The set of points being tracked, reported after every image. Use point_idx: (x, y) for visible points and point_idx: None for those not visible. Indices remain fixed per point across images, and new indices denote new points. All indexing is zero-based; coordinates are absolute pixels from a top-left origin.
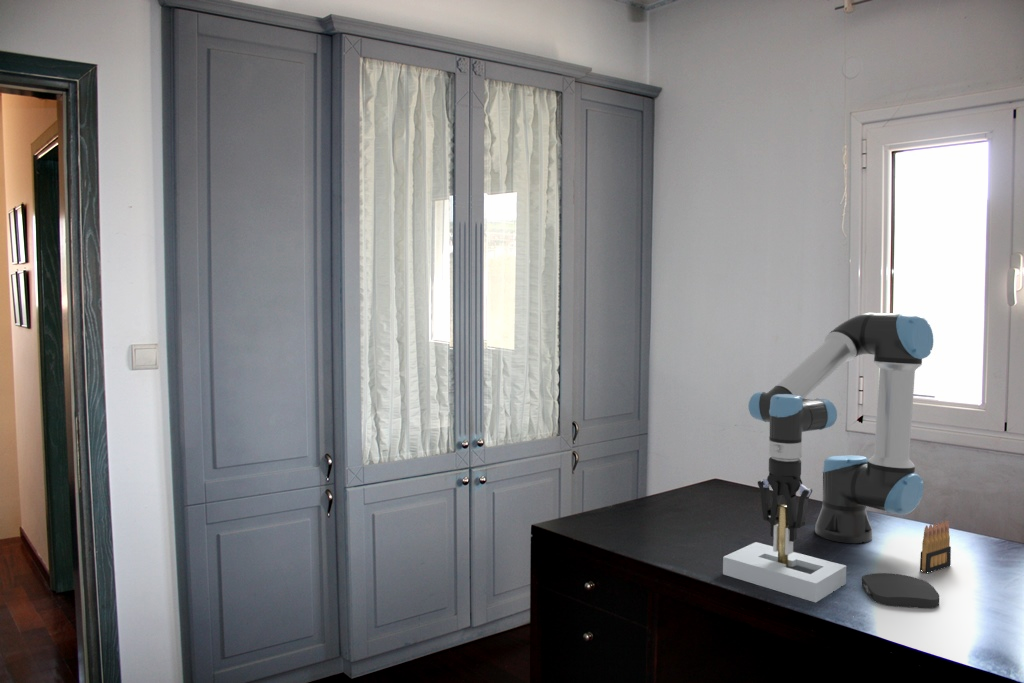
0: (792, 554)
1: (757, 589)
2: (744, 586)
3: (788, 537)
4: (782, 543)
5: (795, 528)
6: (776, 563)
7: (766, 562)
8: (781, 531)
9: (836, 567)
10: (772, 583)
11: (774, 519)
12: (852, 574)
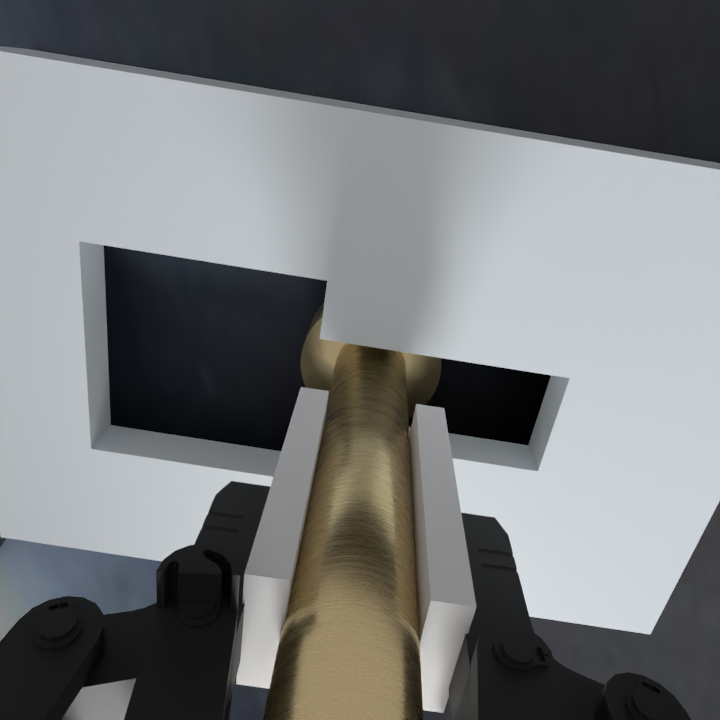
0: None
1: (457, 27)
2: (564, 22)
3: (268, 495)
4: (351, 454)
5: (152, 610)
6: (391, 317)
7: (470, 290)
8: (359, 549)
9: (24, 478)
10: (361, 105)
11: (482, 700)
12: (105, 592)
